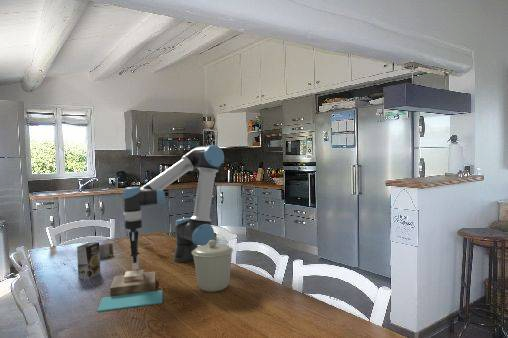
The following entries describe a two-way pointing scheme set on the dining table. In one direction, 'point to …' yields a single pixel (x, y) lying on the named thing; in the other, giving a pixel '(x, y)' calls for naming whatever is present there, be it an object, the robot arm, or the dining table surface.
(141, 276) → the birch tile
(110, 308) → the teal mat
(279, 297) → the dining table surface
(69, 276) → the dining table surface
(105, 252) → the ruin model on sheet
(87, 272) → the coffee box
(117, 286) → the walnut board
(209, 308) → the dining table surface
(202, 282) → the canister
